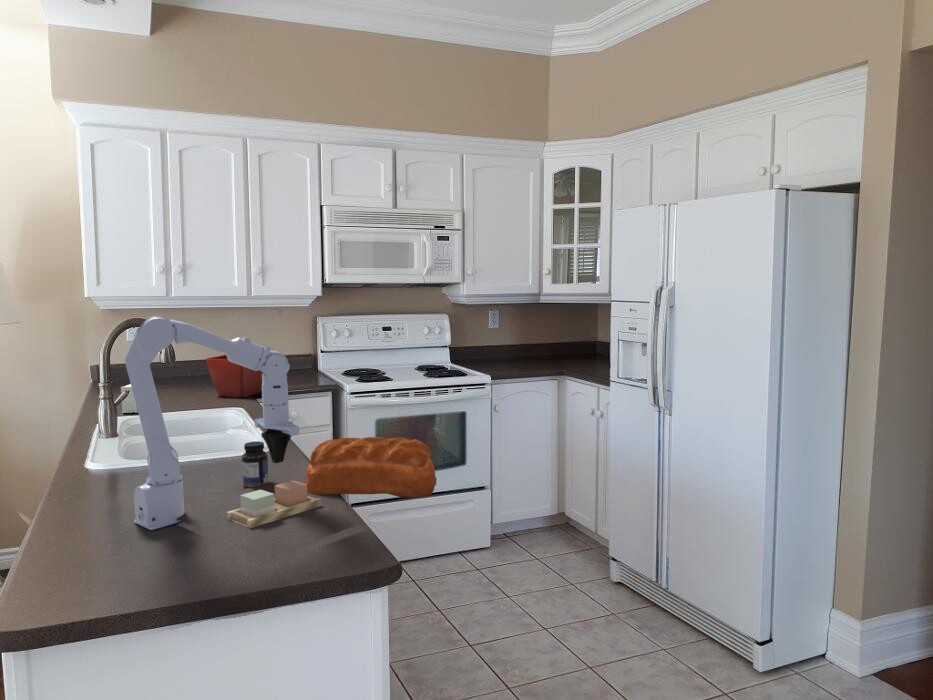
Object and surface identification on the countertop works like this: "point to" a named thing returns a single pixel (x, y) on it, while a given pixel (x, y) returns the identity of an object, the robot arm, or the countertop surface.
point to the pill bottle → (254, 465)
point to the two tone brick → (257, 503)
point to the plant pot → (233, 378)
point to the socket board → (273, 513)
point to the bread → (371, 467)
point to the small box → (128, 401)
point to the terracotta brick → (290, 493)
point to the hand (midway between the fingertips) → (278, 461)
